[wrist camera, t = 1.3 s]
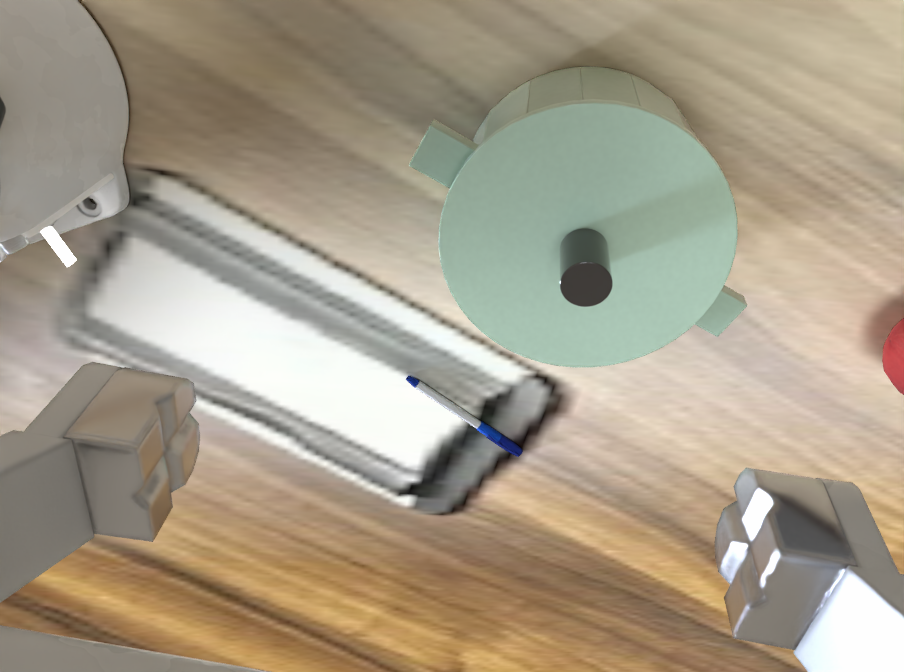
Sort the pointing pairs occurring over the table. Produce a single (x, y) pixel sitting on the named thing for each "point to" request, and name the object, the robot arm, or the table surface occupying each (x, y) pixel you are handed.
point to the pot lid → (588, 233)
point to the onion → (895, 356)
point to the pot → (450, 149)
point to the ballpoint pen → (468, 418)
